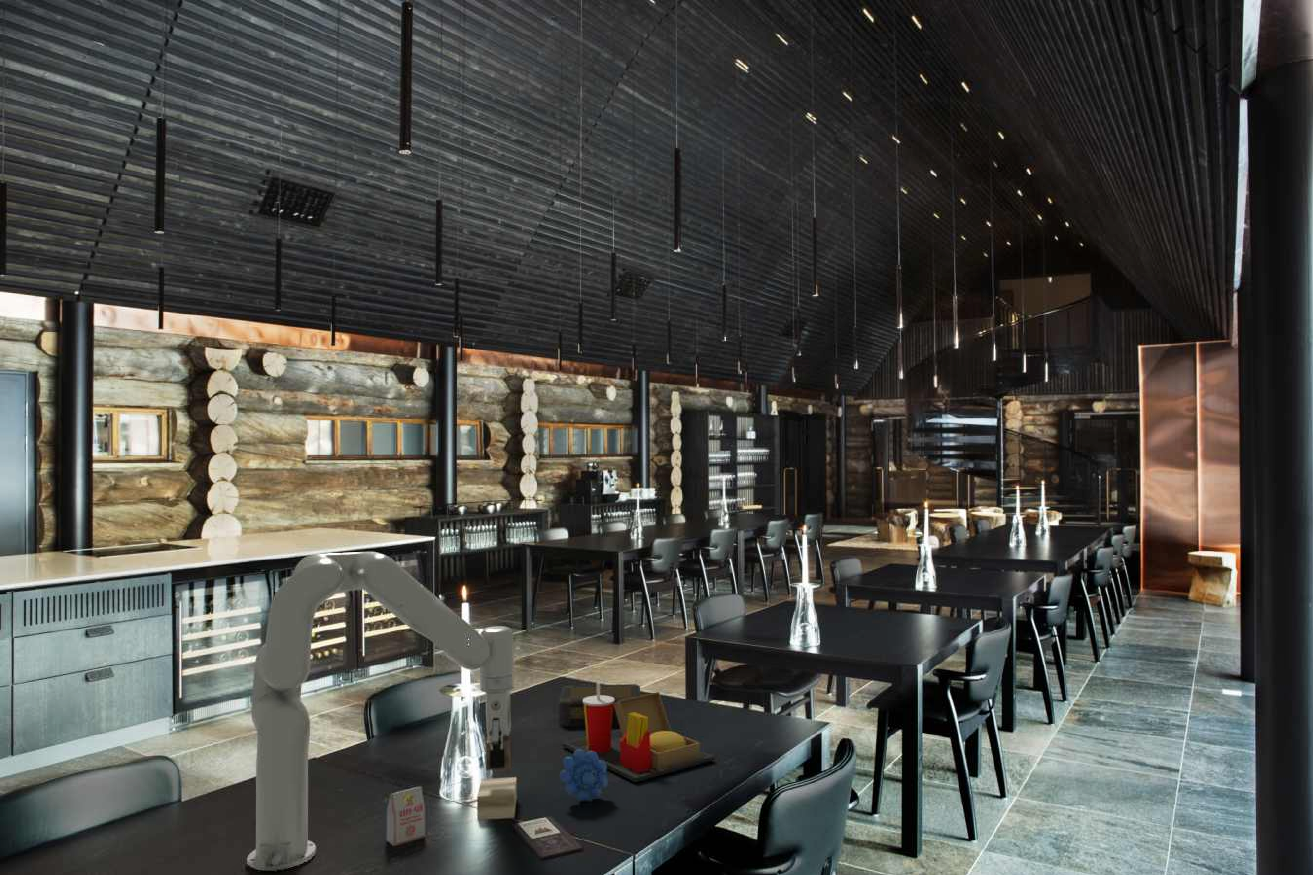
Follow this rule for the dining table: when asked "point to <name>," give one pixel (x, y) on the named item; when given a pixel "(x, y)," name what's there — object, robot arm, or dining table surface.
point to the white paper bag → (405, 816)
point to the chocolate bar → (547, 837)
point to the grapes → (584, 775)
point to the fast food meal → (636, 737)
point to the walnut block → (506, 752)
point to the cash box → (574, 695)
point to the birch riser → (497, 798)
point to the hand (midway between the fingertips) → (498, 762)
